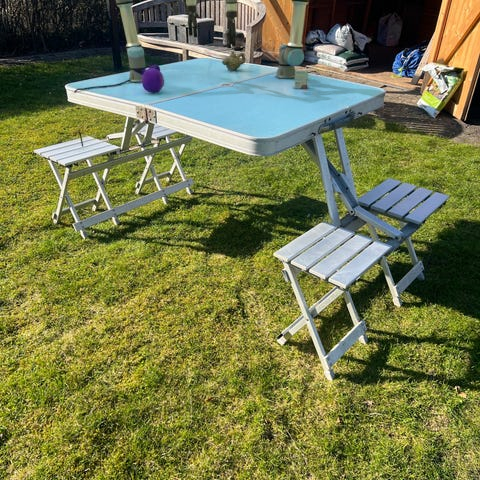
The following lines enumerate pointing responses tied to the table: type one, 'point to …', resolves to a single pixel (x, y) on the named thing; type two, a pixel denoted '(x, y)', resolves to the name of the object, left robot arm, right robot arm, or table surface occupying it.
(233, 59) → the teapot
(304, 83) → the ink box
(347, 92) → the table surface
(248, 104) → the table surface
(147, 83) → the toy
